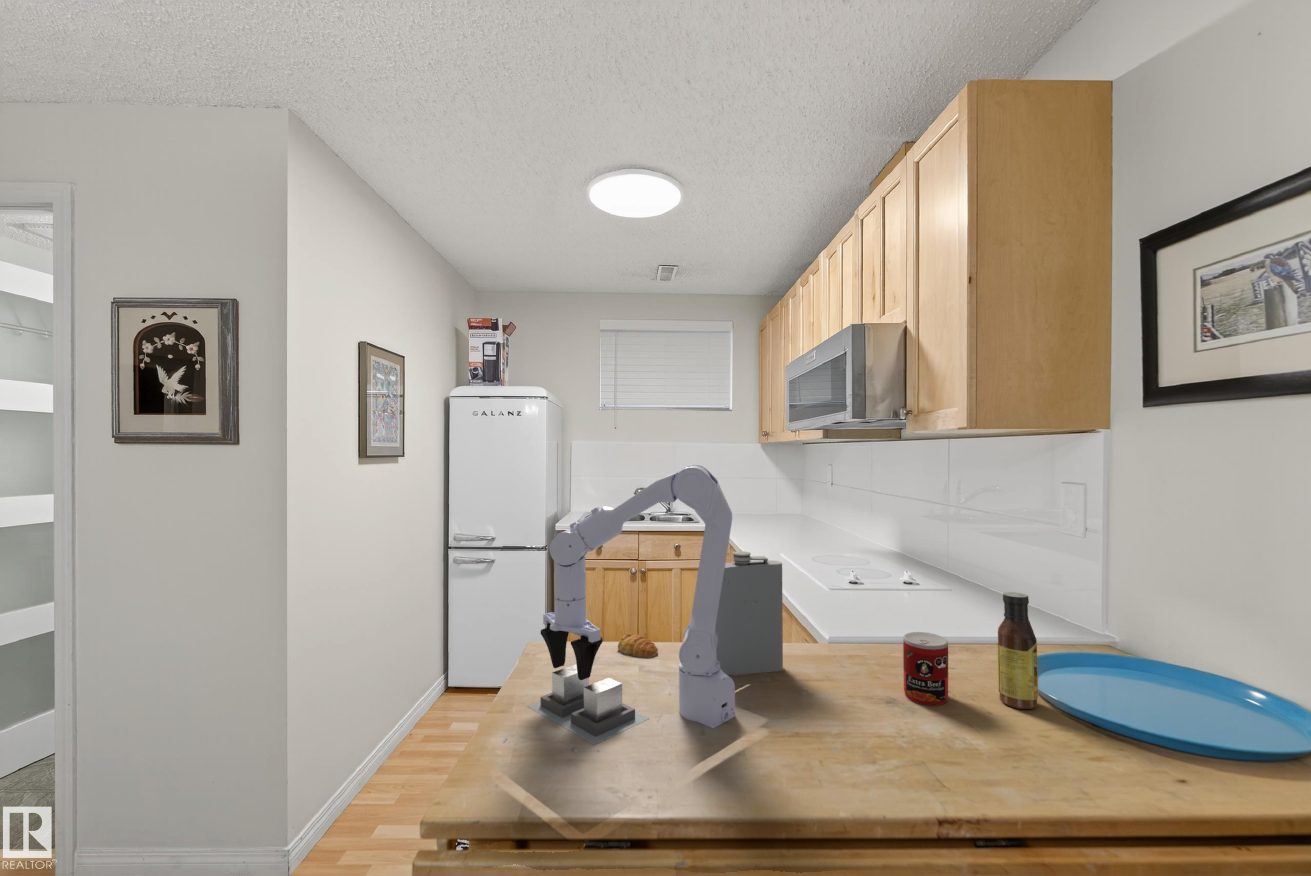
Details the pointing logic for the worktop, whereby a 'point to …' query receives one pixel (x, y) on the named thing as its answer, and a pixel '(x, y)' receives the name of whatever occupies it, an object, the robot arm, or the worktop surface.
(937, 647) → the canned food
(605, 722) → the pallet
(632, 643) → the pastry
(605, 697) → the block
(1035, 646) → the sauce bottle
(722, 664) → the flask
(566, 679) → the metal billet
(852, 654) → the worktop surface
